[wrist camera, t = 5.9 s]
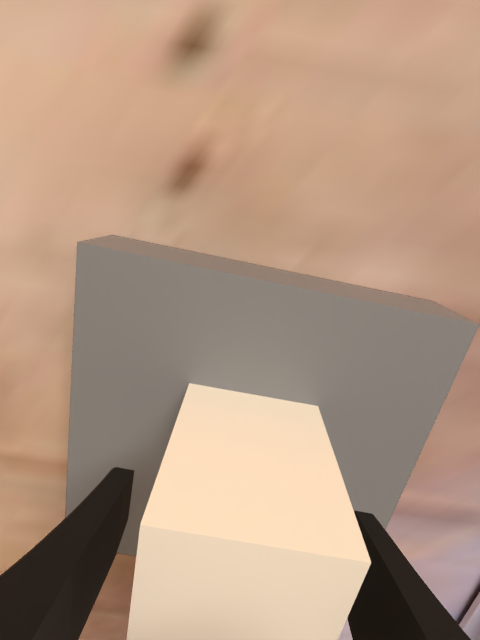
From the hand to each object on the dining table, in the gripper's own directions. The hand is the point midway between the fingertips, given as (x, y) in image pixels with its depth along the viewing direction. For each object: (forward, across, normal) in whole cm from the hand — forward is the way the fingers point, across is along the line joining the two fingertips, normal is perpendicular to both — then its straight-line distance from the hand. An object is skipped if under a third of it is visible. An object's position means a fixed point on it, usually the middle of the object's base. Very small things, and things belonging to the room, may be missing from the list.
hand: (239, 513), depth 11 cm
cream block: (+3, 0, 0) cm, 3 cm away
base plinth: (+6, 0, 0) cm, 6 cm away
